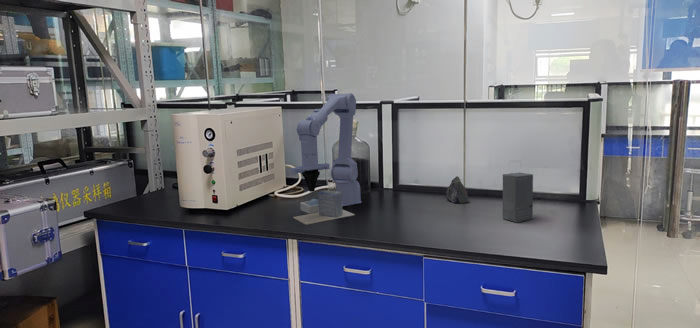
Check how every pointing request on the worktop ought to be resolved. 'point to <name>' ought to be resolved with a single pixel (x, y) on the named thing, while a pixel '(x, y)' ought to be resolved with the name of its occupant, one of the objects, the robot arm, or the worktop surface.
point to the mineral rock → (457, 191)
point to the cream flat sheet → (319, 217)
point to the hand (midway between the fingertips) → (311, 191)
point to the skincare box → (517, 197)
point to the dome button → (313, 202)
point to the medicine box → (330, 203)
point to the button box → (309, 208)
